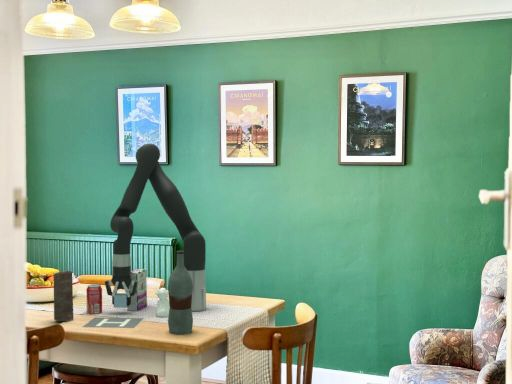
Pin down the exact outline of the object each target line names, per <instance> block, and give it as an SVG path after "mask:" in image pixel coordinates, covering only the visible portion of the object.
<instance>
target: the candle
mask: <svg viewBox="0 0 512 384" xmlns="http://www.w3.org/2000/svg"><path fill="white" fill-rule="evenodd" d="M73 289H74V288H73V271H72V270H71V271H70V270H67V271H66V270H59V271H58V272H55V273H53V320H54V321H56V322H71V321H74V298H73V297H74V293H73Z"/></svg>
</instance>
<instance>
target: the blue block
mask: <svg viewBox="0 0 512 384" xmlns="http://www.w3.org/2000/svg"><path fill="white" fill-rule="evenodd" d="M113 308H117V309H118V308H119V309H120V308H122V309H123V308H124V309H127V308H128V306H127V294H126V292H125V293H124V292H123V293H121V292H117V294H115V295H114V304H113Z"/></svg>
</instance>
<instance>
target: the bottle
mask: <svg viewBox="0 0 512 384" xmlns="http://www.w3.org/2000/svg"><path fill="white" fill-rule="evenodd" d="M167 291H168V300H169V316H168V317H167V324H168V326H167V327H168V331H169V333H170V334H172V335H186V334H191V333H192V331H193V326H194V325H193V324H194V319H193V311H192V309H191V304H192V291H193V284H192V278H191V276H190V274H189V273H188V271H187V269H186V268H185V266H184V250H177V251H176V266H175V268H174V269H173V271H172V272H171V274H170V275H169V278H168V283H167Z"/></svg>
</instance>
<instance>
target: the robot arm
mask: <svg viewBox="0 0 512 384" xmlns="http://www.w3.org/2000/svg"><path fill="white" fill-rule="evenodd" d="M135 152H136V153H135V160H136V163H137V165H136V168H135V170H134V173H133V176H132V177H131V179H130V181H129V184H128V185H127V187H126V189H125V192H124V194H123V197H122V198H121V201H120V204H119V206H118V207H117V209H116V210H115V212H114V213H113V215H112V217H111V220H110V225H109V227H110V229H111V231H112V232H114V233H116V234H117V238H116V239H115V240H114V241H112V242H113V243H112V260H111V261H112V262H111V266H112V270H111V271H112V272H111V273H112V276H111V277H112V278H111V279H110V280H109V279H108V280H106V281H104V285H105V286H104V287H105V290H106V294H107V296H110V297H111V304H112V305H114V295H115V294H117V293H118V291H119V290H122V291H123V290H124V292H125V293H126V294H127V306H130V304H131V296H134V295H135V294H136V291H137V287H138V281H133V280H132V279H131V271H132V258H131V242H132V238H133V236H134V235H133V234H134V221H133V220H132V219H131V217H130V216H131V215H132V214H134V213H136V212H137V210H138V207H139V205H140V202H141V200H142V197H143V193H144V192H145V188H146V185H147V183H148V180H149V182H150V185H151V187H152V190H153V191H154V193H155V195H156V197H157V199H158V201H159V203H160V205H161V206H162V208H163V210H164V212H165V214H167V216H168V217H169V219H170V220H171V221H172V223H173V224H174V226H175V228H176V229H177V231H178V233H179V235H180V238H181V241H182V243H183V251H184V266H185V268H186V269H187V271H188V273H189V274H190V276H191V278H192V284H193V291H192V304H191V309H192V312H199V311H206V308H207V286H206V257H207V255H206V250H207V249H206V246H207V245H206V240H205V238H204V236H203V234H202V233H201V232H200V231H199V229H198V228H197V226H196V225H195V222H193V219H192V218H191V216H190V213H189V210H188V206H187V205H186V202H185V201H184V197H182V195H181V192H180V191H179V190H178V188H177V186H176V185H175V184H174V182H173V180H171V179H170V178H169V177H168V176H167V175H166V173H165V171H164V170H163V169H162V166H161V164H160V162H159V160H160V158H161V150H160V149H159V147H158V146H157V145H156V144H154V143H145V144H143V145H142V146H140V147H139V148H138V149H137V150H136V151H135ZM131 283H132V286H133V290H132V293H131V292H130V288H129V285H130V284H131ZM111 285H113V286H114V287H113V291H112V287H111Z"/></svg>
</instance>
